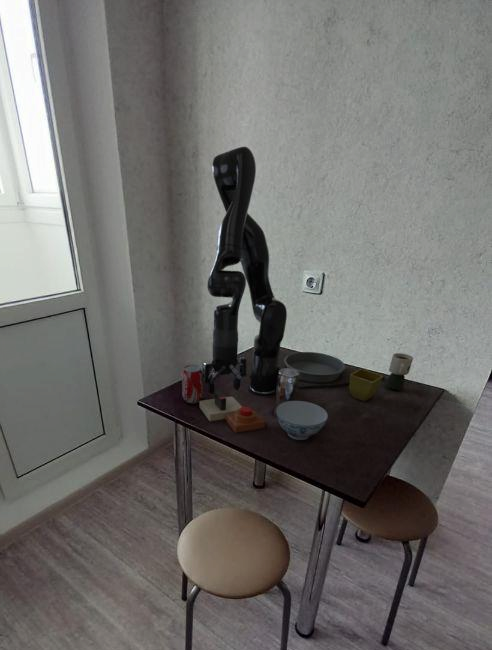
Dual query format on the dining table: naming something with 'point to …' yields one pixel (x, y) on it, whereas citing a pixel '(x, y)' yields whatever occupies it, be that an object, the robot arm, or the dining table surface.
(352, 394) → the flower pot
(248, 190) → the robot arm
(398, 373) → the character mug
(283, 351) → the dining table surface
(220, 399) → the oven dial
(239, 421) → the housing
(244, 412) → the button
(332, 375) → the cake pan
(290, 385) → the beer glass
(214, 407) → the panel
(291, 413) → the chinaware
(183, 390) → the soda can
